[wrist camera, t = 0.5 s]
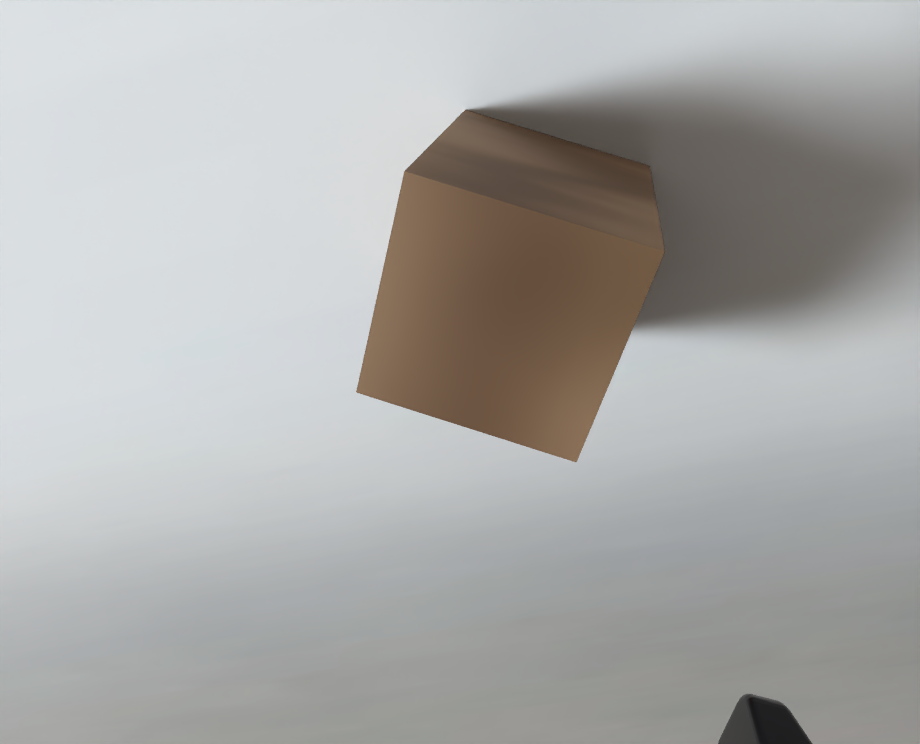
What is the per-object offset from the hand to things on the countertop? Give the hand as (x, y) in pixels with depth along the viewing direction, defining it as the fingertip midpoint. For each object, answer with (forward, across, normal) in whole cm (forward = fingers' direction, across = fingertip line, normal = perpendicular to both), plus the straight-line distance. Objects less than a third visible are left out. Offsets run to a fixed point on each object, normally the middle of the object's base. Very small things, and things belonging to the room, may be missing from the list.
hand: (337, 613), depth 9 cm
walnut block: (+12, -1, -1) cm, 12 cm away
